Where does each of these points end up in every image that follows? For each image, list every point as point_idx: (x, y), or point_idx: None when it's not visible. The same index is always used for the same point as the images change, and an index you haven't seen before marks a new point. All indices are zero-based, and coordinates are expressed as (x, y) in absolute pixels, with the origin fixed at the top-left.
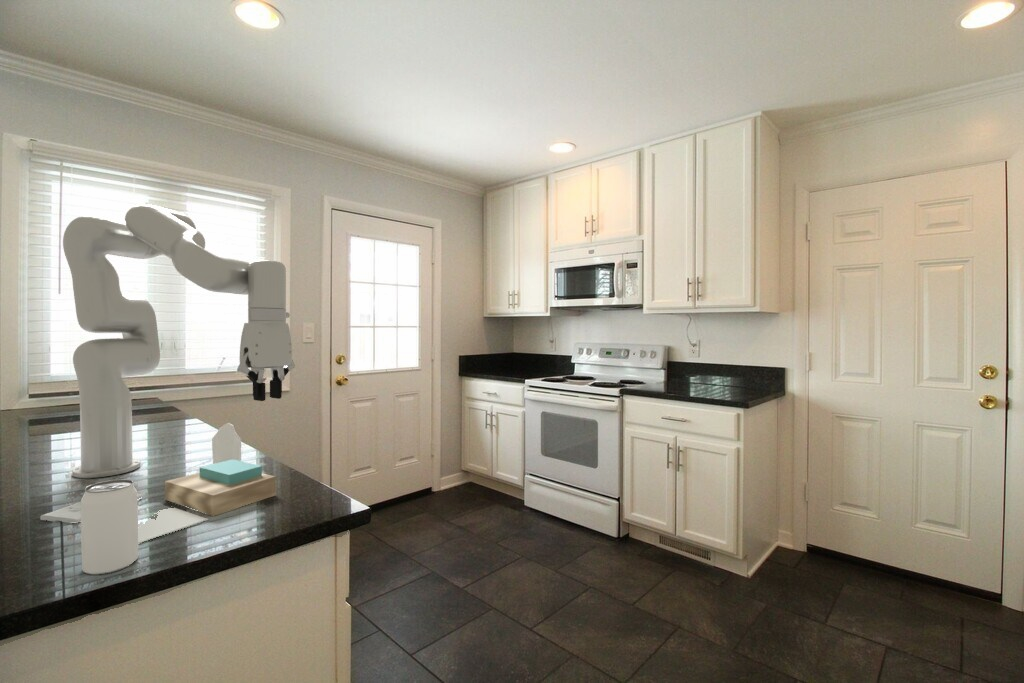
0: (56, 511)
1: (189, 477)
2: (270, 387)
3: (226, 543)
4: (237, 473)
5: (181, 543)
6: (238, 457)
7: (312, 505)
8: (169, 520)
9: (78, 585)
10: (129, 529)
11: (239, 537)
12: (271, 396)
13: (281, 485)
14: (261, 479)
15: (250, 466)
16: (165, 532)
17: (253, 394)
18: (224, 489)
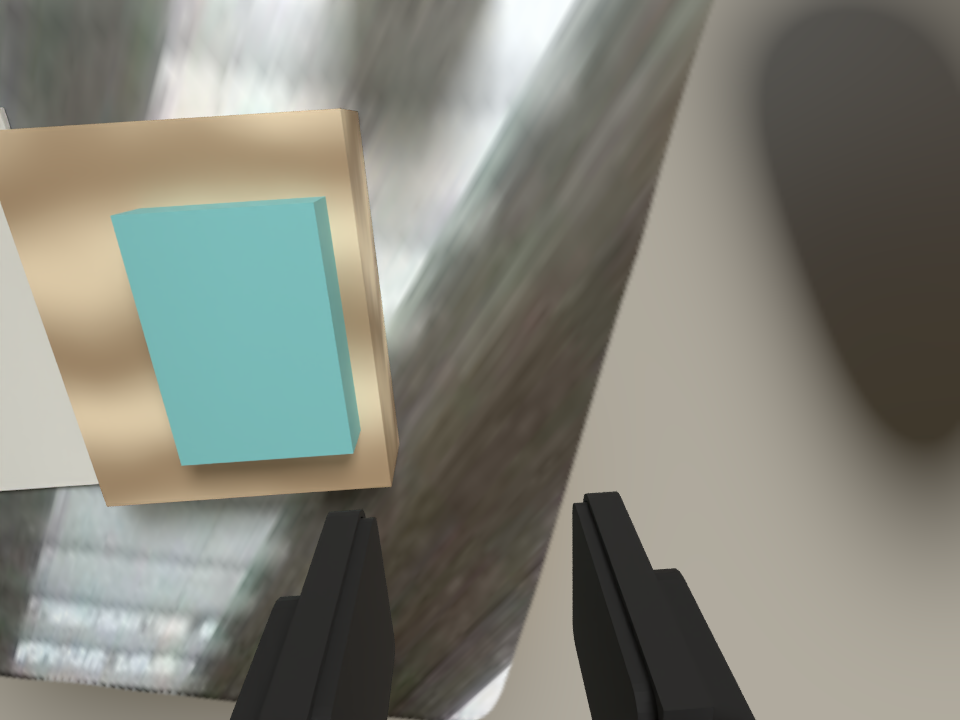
0: None
1: (95, 172)
2: (605, 614)
3: (116, 650)
4: (225, 459)
5: (20, 571)
6: None
7: (420, 607)
8: (15, 397)
9: None
10: None
11: (155, 643)
12: (574, 535)
13: (485, 357)
14: (330, 478)
15: (312, 419)
16: None
17: (276, 619)
18: (165, 478)
